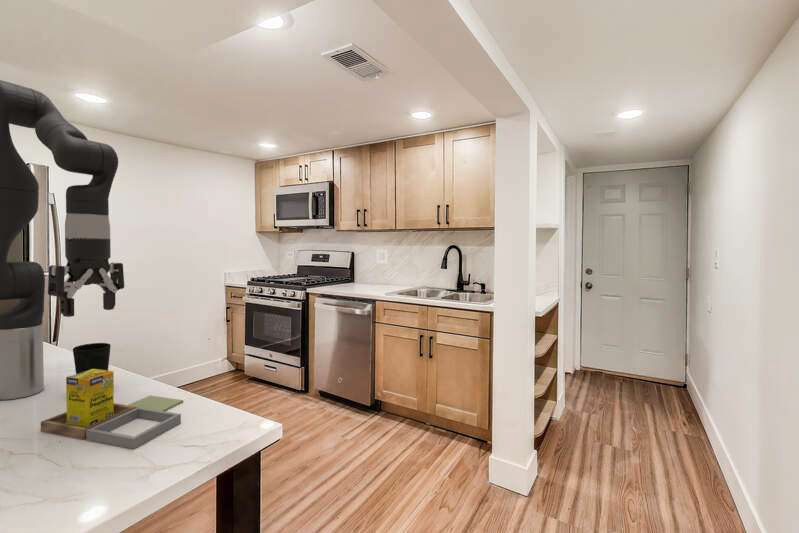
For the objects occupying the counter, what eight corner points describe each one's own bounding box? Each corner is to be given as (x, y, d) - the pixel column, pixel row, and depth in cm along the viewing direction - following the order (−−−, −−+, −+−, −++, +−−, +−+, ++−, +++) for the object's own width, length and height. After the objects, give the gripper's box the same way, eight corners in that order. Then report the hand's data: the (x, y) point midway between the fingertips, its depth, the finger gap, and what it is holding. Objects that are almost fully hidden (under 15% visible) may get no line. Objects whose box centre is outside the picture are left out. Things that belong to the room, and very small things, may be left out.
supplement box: (89, 431, 82) (88, 379, 81) (65, 427, 83) (64, 376, 83) (115, 418, 88) (114, 370, 87) (92, 415, 89) (92, 368, 88)
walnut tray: (40, 431, 81) (40, 421, 81) (96, 408, 92) (96, 400, 92) (84, 439, 78) (84, 430, 78) (136, 415, 90) (136, 406, 90)
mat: (120, 409, 92) (120, 407, 92) (150, 397, 100) (150, 395, 100) (156, 415, 90) (156, 413, 90) (183, 402, 98) (183, 400, 98)
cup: (66, 394, 100) (65, 348, 99) (99, 385, 107) (98, 341, 106) (85, 400, 97) (84, 352, 96) (117, 390, 104) (117, 345, 103)
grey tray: (86, 440, 78) (86, 430, 78) (137, 415, 90) (137, 407, 90) (133, 449, 76) (133, 439, 76) (180, 422, 87) (180, 414, 87)
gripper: (106, 236, 91) (107, 306, 92) (36, 235, 77) (38, 317, 78) (133, 237, 89) (133, 309, 90) (66, 236, 75) (67, 320, 76)
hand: (89, 312), depth 84 cm, fingers open, 8 cm apart
